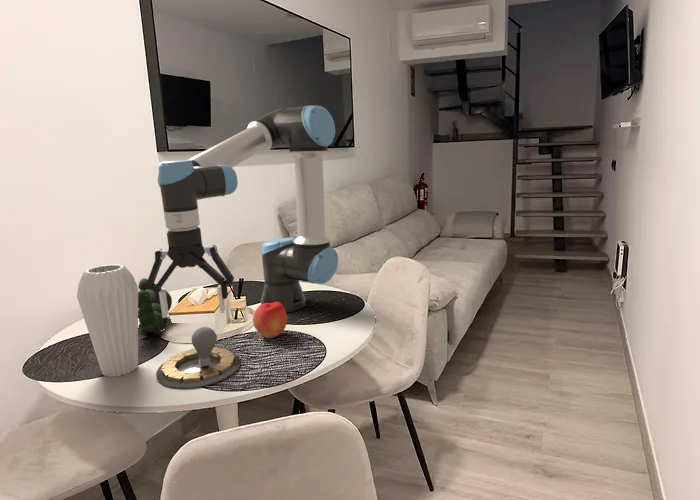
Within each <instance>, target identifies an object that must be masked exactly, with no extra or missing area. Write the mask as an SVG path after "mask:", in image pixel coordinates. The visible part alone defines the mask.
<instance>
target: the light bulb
mask: <svg viewBox="0 0 700 500" xmlns="http://www.w3.org/2000/svg"><path fill="white" fill-rule="evenodd" d="M217 341H218V336H217V333H216V332H215V330H213V328H211V327H210V326H209V327H208V326H201V327H198V328H196V330H194V332H193V334H192V335H191V345H192V346H193V347H194V348H193V349H196V351H197V353H198V357H199V365H200V366H207V365H209V364H210V356H211V353H212V349H213V348H214V347H216V344H217Z"/></svg>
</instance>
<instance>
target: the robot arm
mask: <svg viewBox="0 0 700 500" xmlns="http://www.w3.org/2000/svg"><path fill="white" fill-rule="evenodd" d="M335 135H336V126H335V122H334V119H333V116H332V115H331V114H330V112H329V111H328V109H327V108H326V107H323V106H322V105H310V104H309V105H301V106H293V107H282V108H278V109H276V110H272V111H271V112H269V113H266V114H265V115H263V116H261V117H258V118H257V119H256V120H253V121H251V122H250V123H249V124H248V126H247V128H246V129H244V130H242V131H240V132H239V133H236V134H234V135H233V136H231V137H229V138H226V139H225V140H223V141H222V142H220V143H218V144H216V145H214V146H211V147H209V148H208V149H205V150H204V151H202V152H200V153H198V154H197V155H194V156H193V157H191V158H189V159H187V160H185V159H184V160H183V159H182V160H167V161H162V162H160V163H159V164H158V169H157V170H158V172H157V173H158V174H157V184H158V187H159V188H160V194H161V201H162V209H163V215H164V216H163V217H164V224H165V228H166V229H168V230H167V231H166V236H167V237H166V238H167V244H168V245H167V246H168V250H167V249H166V250H165V249H162V248H158V249H157V250H156V251H154V263H153V265H152V268H151V270H150V273H149V276H148V278H147V279H148V281H147V283H146V286H145V288H146V289H147V290H149V289H150V290H153V291H154V292H155V298H156V303H157V304H161V310H162V317H163V318H166V317H167V318H168V315H169V311H168V305H167V298H166V291H167V290H166V288H163V286H164V285H165V283H166V282H167V280H168V279H169V278H170V277H171V275H172V273H174V270H176V269H177V267H179V268H181V269H182V268H183V269H184V268H186V267H188V268H195V267H196V266H198V268H199V269H202V270H203V271H204V272H205V273H206V274H207V275H208V276H209V277H211V278H212V279H213V280H214V281H215V282H216V283H217V284H218V286H217V294H218V303H219V311H220V314H224V313H225V311H226V306H225V300H226V299H227V298H228V296H229V294H228V293H229V292H228V285H230V284H233V283H234V280H235V277H234V276H233V274H232V272H231V271H230V269H229V268H228V266H227V265H226V264H225V262H224V261H223V259H222V257H221V256H220V255H219V251H218V247H217V245H215V244H213V245H211V246H209V247H205V246H203V240H202V231H201V228H200V227H199V226H200V225H201V223H200V215H199V206H198V201H200V200H203V199H210V198H216V197H217V198H218V197H226V196H227V195H231V194H233V193H234V192H236V190H237V189H238V185H239V183H238V175H237V172H236V170H235V169H234V167H235V166H238V165H240V164H241V163H243V162H245V161H246V160H248V159H249V158H252V157H253V156H255V155H256V154H259V153H260V152H261V153H266V152H269V151H270V150H272V149H274V148H281V147H283V148H284V147H288V153H289V154H290V155H291V156H292V157H293V159H294V172H295V173H294V174H295V176H294V177H295V198H296V199H295V200H296V203H295V205H296V222H297V223H296V225H297V228H296V229H297V236H296V237H284V238H283V237H282V238H277V239H272V240H268V241H266V242H264V243H263V244H262V246H261V251H262V252H261V259H262V268H263V269H262V270H263V271H262V272H263V278H264V279H263V280H264V287H263V291H262V295H261V298H260V305H262V304H264V303H274V302H280V303H281V304H282V305H283V307H284V308H285V311H286V313H292V312H296V311H298V310H300V309H303V308H304V307H305V306H306V297H305V296H306V295H305V294H304V291H303V289H302V286H301V283H300V282H307V283H310V284H319V285H320V284H322V285H323V284H326V283H328V282H330V280H331V279H333V277H334V276H335V274H336V271H337V268H338V265H339V254H338V252H337V251H336V250H335V249H334V248H333V247H331V239H330V238H329V237H328V236H327V235H326V226H325V225H326V223H325V222H326V220H325V219H326V217H325V216H326V215H325V191H324V190H325V189H324V188H325V187H324V185H325V183H324V157H325V155H327V153H328V150H329V149H328V146H330V145H331V144H332V143H333V142H334V139H335ZM205 254H206V255H207V256H208V257H211V260H212V261H213V263H214V264H215V265H216V267H217V268H218V270H219V271H220V272H218V271H217V270H216V269H215V268H214V267H213V266H211V265H210V264H209V263H208V261H207V260H206V259H205V258H204V255H205ZM166 257H169V258H170V259H171V261H172V262H171V264H170V265H169V266H168V268H167V270H165V272H164V274H163V275H162V276H161V278H160V279H159V280H158V281H157V283H155V282H156V279H157V276H158V275H159V271H160V268H161V266H162V263H163V260H165V259H166ZM161 288H162V289H161ZM147 290H146V291H147ZM165 290H166V291H165Z"/></svg>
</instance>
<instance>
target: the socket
mask: <svg viewBox="0 0 700 500" xmlns="http://www.w3.org/2000/svg"><path fill="white" fill-rule="evenodd" d="M240 366H241V359H240V357H239V355H237V353H235V352H233V351H230V350H229V349H226V348H222V347H216V346H214V348H213V349H212V353H211V356H210V364H209V365H207V366H200V365H199V357H198V353H197V351H196V349H195V348H191V349H188V350H185V351H181V352H179V353H176V354H174V355H173V356H171V357H169V358H168V359H166V360H165V361H164V362H163V363H162V364H161V365H160V366H158V369H157V370H156V373H155V377H156V380H157V382H158V383H159V384H161V385H162V386H163V387H166V388H171V389H177V390H179V389H180V390H182V389H183V390H189V389H197V388H203V387H207V386H211V385H214V384H217V383H220V382H222V381H224V380H227V379H228V378H230V377H232V376H233V375H235V373H236V372H237V371H238V370H239V368H240Z"/></svg>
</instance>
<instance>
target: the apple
mask: <svg viewBox="0 0 700 500" xmlns="http://www.w3.org/2000/svg"><path fill="white" fill-rule="evenodd" d="M252 324H253V327H254V329H255V330H256V331H257V333H258V334H260V335H261V336H262V337H264V338H266V339H273V338H275V337H278V336H279V335H281V334H282V333H283V332H284V330H285V329H286V326H287V324H288V316H287V312H286V311H285V308H284V307H283V305H282V304H281V303H280V302H274V303H264V304H262V305H261V304H260V305H259V306H258V307H257V308H256V309H255V311H253V315H252Z"/></svg>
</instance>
